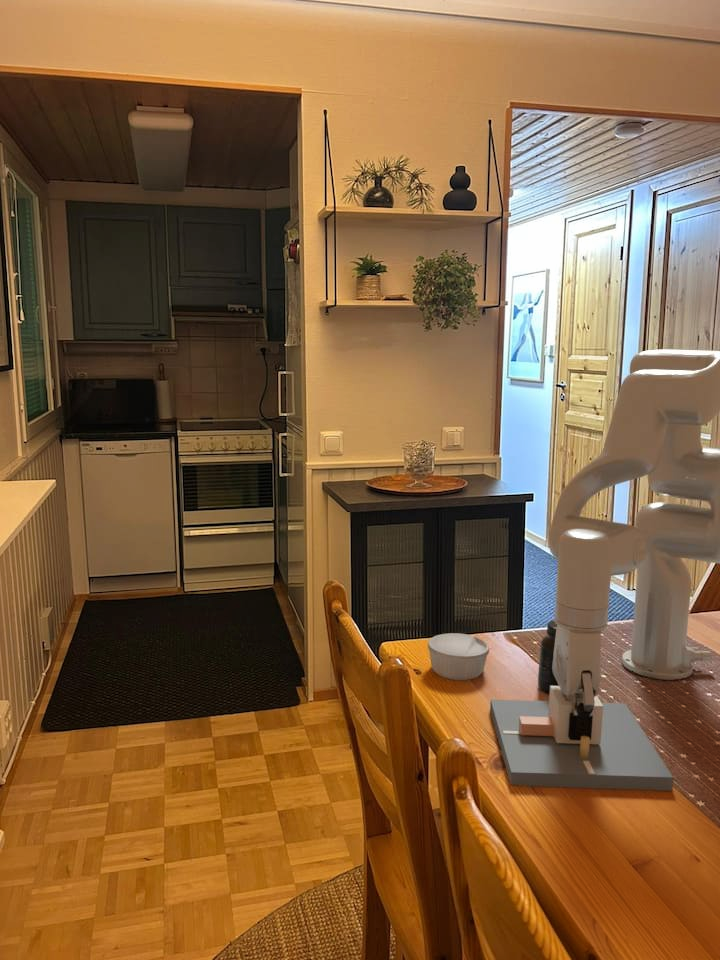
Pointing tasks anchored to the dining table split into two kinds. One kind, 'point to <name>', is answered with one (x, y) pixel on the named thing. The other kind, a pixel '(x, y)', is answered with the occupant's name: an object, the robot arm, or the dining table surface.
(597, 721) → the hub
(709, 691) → the dining table surface
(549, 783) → the board
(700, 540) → the robot arm
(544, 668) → the supplement bottle
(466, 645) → the ramekin
